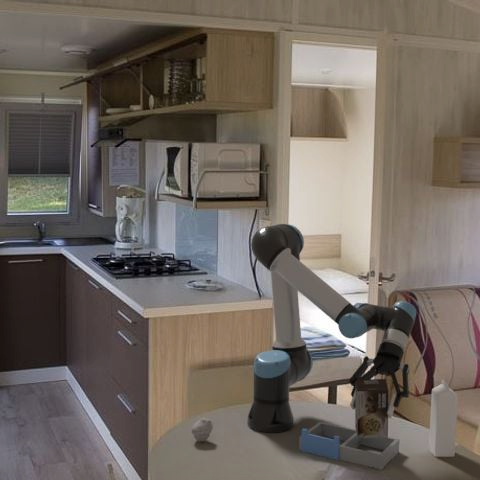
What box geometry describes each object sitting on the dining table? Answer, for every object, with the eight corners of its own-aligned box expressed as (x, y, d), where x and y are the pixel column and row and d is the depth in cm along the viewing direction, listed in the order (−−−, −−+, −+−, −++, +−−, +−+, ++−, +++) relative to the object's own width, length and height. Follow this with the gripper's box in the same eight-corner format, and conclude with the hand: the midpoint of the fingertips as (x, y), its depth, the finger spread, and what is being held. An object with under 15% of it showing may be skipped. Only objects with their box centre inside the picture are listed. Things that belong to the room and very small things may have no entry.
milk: (447, 449, 227) (452, 378, 225) (454, 457, 221) (459, 385, 219) (428, 449, 227) (432, 378, 224) (434, 457, 221) (438, 384, 218)
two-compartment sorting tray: (298, 450, 224) (298, 428, 223) (319, 433, 237) (320, 413, 236) (380, 470, 211) (381, 447, 210) (398, 451, 224) (399, 430, 223)
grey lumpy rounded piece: (217, 440, 230) (217, 418, 229) (200, 446, 225) (200, 424, 224) (203, 435, 234) (204, 413, 233) (186, 440, 229) (187, 419, 228)
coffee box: (385, 425, 223) (386, 378, 217) (388, 438, 216) (389, 390, 211) (354, 425, 223) (355, 378, 218) (356, 438, 217) (357, 390, 212)
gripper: (431, 361, 225) (411, 426, 213) (359, 347, 236) (336, 408, 225) (427, 347, 219) (406, 414, 208) (354, 334, 231) (330, 396, 220)
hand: (370, 411), depth 216 cm, fingers closed on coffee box, 11 cm apart
